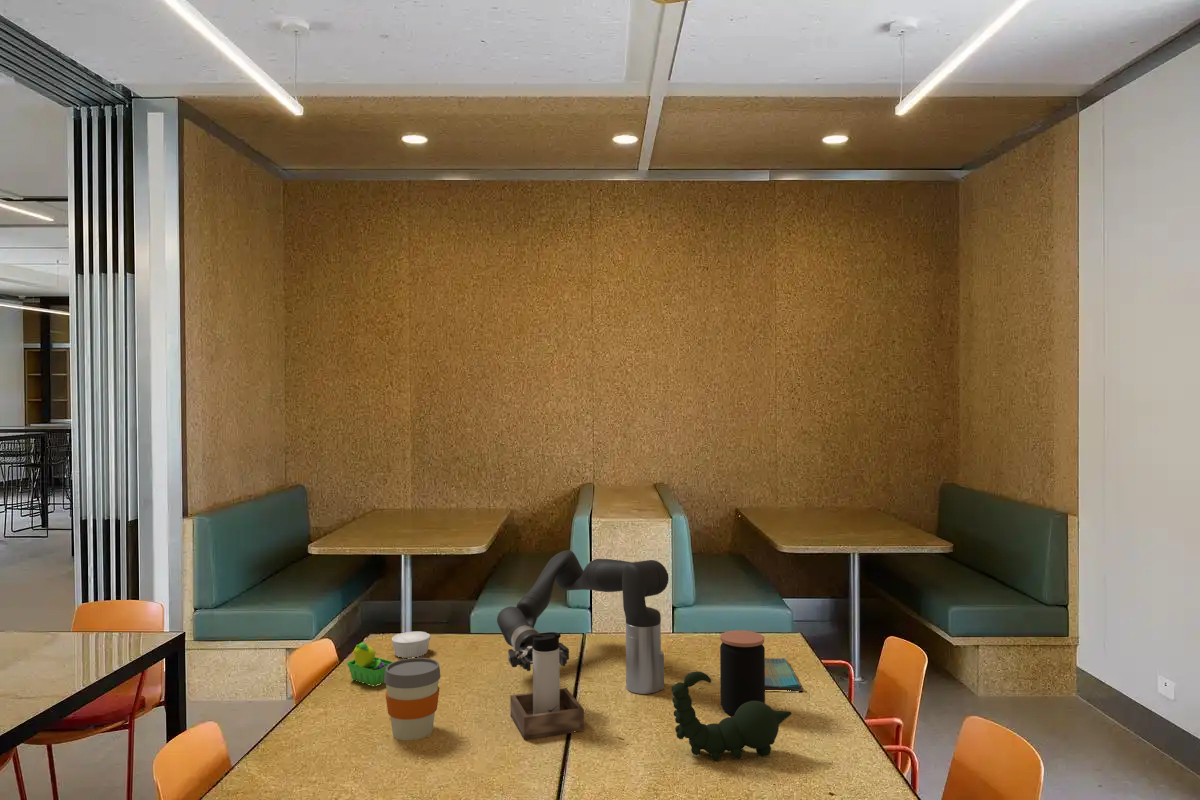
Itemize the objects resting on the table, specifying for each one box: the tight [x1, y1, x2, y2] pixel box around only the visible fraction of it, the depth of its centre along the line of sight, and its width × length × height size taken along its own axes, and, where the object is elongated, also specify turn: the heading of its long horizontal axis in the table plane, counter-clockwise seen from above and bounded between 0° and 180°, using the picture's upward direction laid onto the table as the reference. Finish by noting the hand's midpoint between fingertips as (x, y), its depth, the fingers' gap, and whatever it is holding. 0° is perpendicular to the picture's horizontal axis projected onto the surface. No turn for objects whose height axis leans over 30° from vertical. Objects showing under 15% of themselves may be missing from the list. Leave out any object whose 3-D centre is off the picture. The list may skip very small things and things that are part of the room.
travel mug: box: [532, 631, 562, 714], centre depth 181 cm, size 6×7×20 cm
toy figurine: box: [670, 670, 793, 761], centre depth 164 cm, size 9×19×25 cm
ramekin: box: [391, 631, 431, 659], centre depth 232 cm, size 11×11×5 cm
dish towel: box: [765, 657, 803, 691], centre depth 211 cm, size 17×23×3 cm
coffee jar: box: [719, 629, 766, 717], centre depth 188 cm, size 11×11×18 cm
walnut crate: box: [509, 687, 585, 741], centre depth 181 cm, size 14×14×5 cm
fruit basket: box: [346, 642, 394, 687], centre depth 209 cm, size 11×9×11 cm
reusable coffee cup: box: [384, 657, 441, 741], centre depth 177 cm, size 13×13×15 cm
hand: (546, 664), depth 181 cm, fingers open, 8 cm apart
